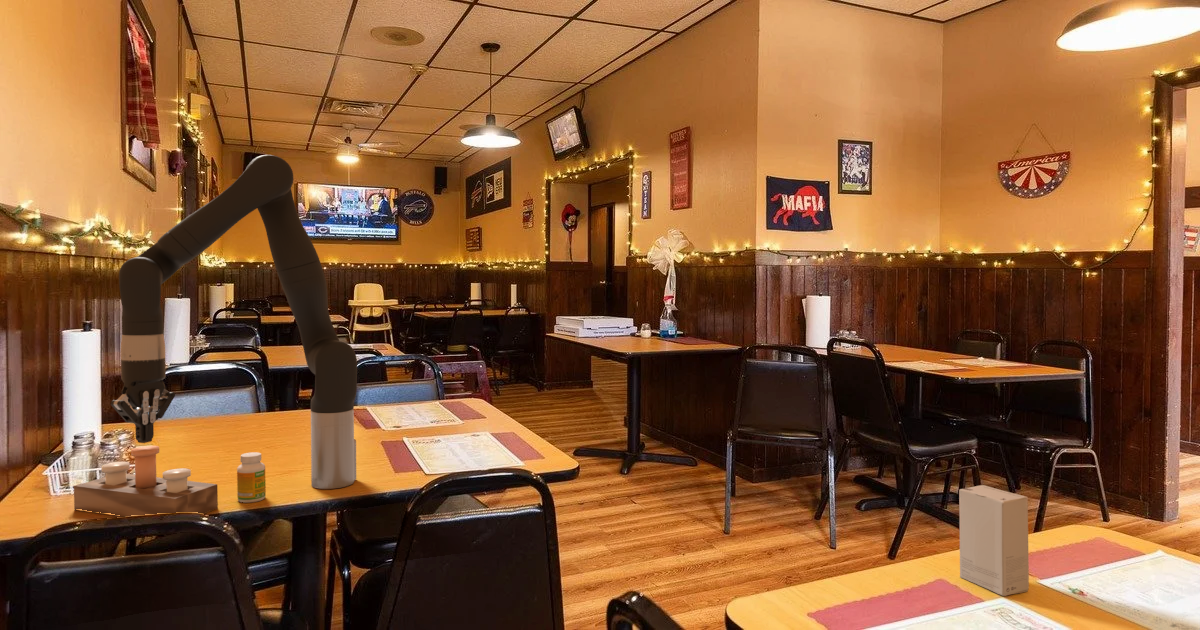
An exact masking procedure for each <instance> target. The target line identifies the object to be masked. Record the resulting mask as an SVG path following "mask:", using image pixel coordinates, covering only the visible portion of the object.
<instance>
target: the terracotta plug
mask: <svg viewBox="0 0 1200 630" xmlns="http://www.w3.org/2000/svg"><path fill="white" fill-rule="evenodd" d="M130 453H131V454H130V456H132V457H134V475H135V486H136V488H139V489H147V488H150V487H153V486H156V485H157V480H156V477H157V454H159V453H160V446H158V445H144V446H138V447H133V448H132V449H131V450H130Z"/></svg>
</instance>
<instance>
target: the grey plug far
mask: <svg viewBox="0 0 1200 630" xmlns="http://www.w3.org/2000/svg"><path fill="white" fill-rule="evenodd" d="M130 469H131V464H130V462H129V461H114V462H110V463H109V462H108V463H104V464H103V465H101V473H104V474H105V475H104V477H105V484H107V485H117V484H121V483H124V482H127V474H128V473H127V470H130Z"/></svg>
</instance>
